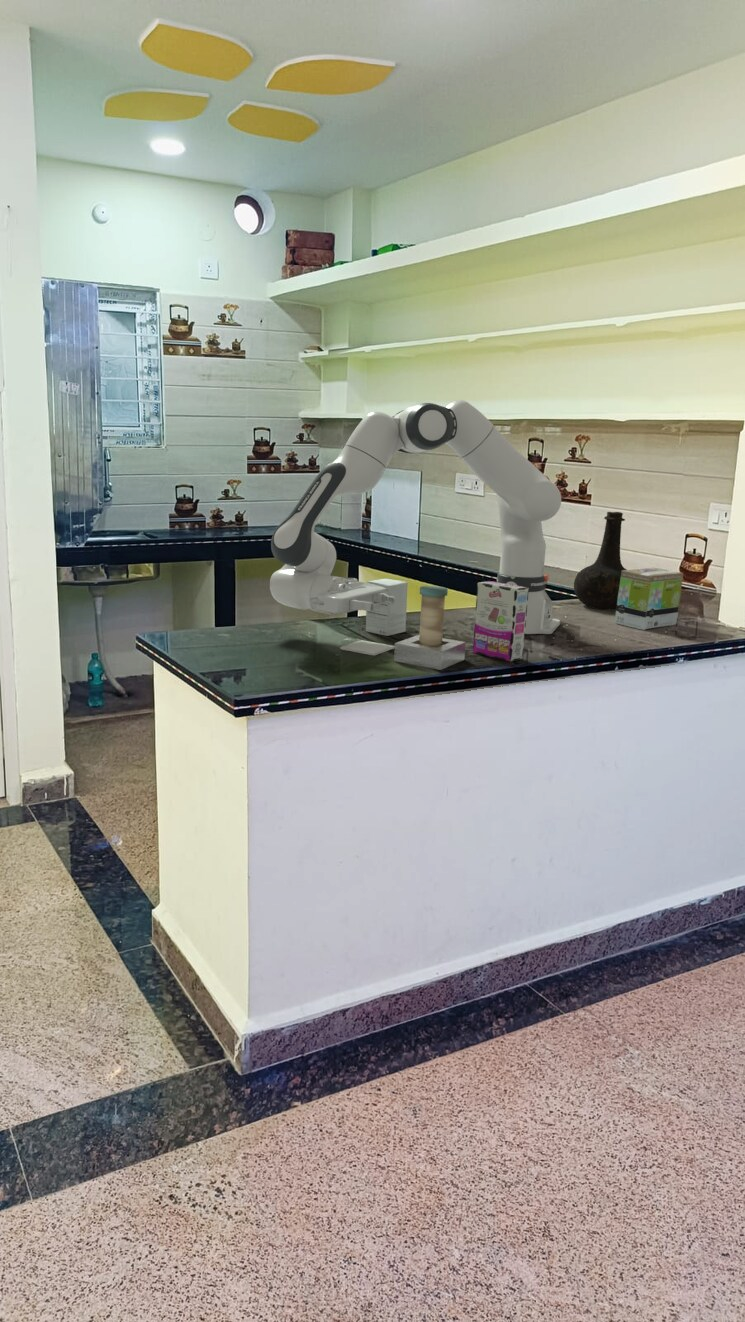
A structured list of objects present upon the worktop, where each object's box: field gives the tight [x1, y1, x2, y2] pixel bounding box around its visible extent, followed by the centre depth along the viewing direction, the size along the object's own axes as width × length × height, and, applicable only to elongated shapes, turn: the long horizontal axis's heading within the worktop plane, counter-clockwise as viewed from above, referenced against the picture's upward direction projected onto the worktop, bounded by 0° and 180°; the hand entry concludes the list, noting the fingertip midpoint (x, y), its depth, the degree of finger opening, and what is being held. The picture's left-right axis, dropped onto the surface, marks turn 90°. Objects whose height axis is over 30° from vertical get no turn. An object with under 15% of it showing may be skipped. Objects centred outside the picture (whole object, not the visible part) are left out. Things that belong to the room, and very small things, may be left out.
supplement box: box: [365, 578, 409, 637], centre depth 226 cm, size 7×7×13 cm
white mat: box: [340, 639, 395, 656], centre depth 210 cm, size 9×9×1 cm
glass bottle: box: [573, 511, 628, 611], centre depth 268 cm, size 18×18×28 cm
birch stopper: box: [418, 585, 449, 648], centre depth 200 cm, size 6×6×16 cm
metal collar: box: [393, 633, 466, 671], centre depth 202 cm, size 11×11×4 cm
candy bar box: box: [472, 580, 529, 663], centre depth 207 cm, size 11×5×16 cm, turn 45°
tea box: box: [614, 567, 684, 631], centre depth 248 cm, size 15×10×15 cm, turn 129°
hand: (382, 603), depth 205 cm, fingers open, 8 cm apart
